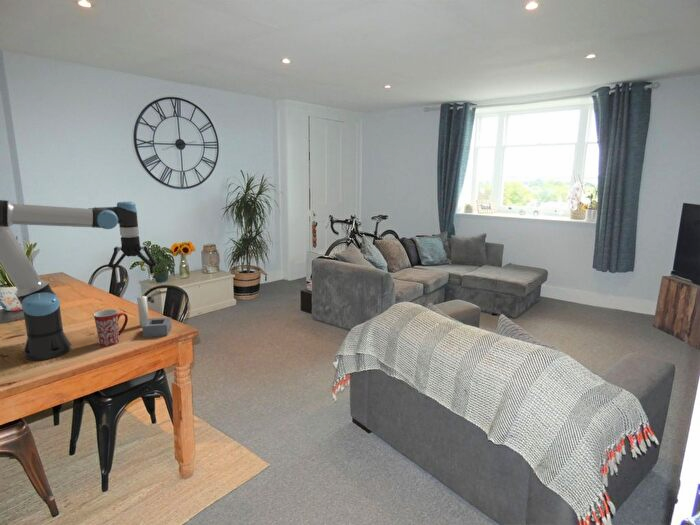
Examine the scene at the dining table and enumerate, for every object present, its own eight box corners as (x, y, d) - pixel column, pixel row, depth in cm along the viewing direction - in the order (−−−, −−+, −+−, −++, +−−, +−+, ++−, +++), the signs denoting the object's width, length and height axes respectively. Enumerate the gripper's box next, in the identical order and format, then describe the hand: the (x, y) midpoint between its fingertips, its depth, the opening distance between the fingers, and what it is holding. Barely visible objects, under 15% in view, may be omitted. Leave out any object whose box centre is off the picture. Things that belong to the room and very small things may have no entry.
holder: (167, 335, 188) (166, 325, 187) (143, 337, 186) (142, 326, 185) (171, 327, 197) (170, 317, 196) (148, 328, 195) (147, 318, 194)
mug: (100, 349, 173) (96, 318, 170) (94, 342, 179) (90, 312, 176) (133, 340, 182) (130, 311, 179) (126, 334, 188) (123, 306, 185)
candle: (148, 326, 198) (145, 296, 195) (138, 327, 197) (135, 297, 194) (150, 323, 202) (147, 294, 198) (141, 324, 201) (138, 294, 198)
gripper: (160, 234, 198) (164, 277, 202) (102, 235, 192) (107, 280, 196) (157, 236, 191) (161, 281, 195) (96, 238, 185) (102, 284, 189)
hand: (134, 281), depth 196 cm, fingers open, 13 cm apart
